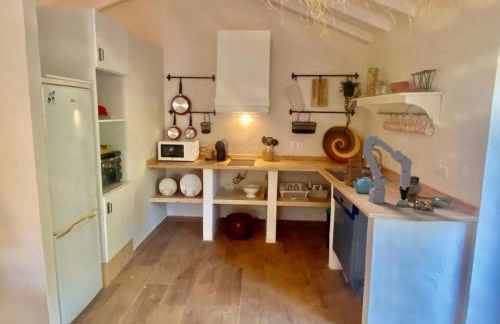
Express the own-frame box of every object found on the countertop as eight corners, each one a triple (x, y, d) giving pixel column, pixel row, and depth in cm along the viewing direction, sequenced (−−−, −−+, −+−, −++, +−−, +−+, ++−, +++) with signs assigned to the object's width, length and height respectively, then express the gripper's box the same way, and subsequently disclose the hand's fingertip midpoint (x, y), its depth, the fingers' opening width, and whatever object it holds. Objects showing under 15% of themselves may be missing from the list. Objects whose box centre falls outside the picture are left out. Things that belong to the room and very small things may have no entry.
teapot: (351, 192, 242) (351, 177, 240) (356, 188, 254) (357, 174, 253) (372, 195, 234) (373, 180, 232) (377, 191, 246) (378, 177, 244)
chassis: (432, 211, 195) (432, 204, 195) (413, 209, 200) (414, 202, 199) (431, 206, 207) (431, 199, 206) (413, 204, 211) (414, 197, 211)
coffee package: (343, 183, 270) (344, 157, 267) (357, 183, 271) (359, 157, 268) (347, 186, 260) (349, 159, 257) (362, 186, 261) (364, 159, 258)
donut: (419, 195, 235) (420, 181, 233) (422, 196, 231) (423, 182, 230) (405, 195, 235) (406, 181, 233) (407, 196, 232) (408, 182, 230)
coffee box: (403, 201, 219) (405, 177, 217) (399, 198, 225) (401, 175, 223) (417, 201, 219) (419, 177, 217) (412, 198, 226) (414, 175, 223)
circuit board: (408, 208, 202) (409, 202, 202) (396, 206, 205) (396, 200, 205) (409, 204, 211) (409, 198, 211) (397, 202, 214) (397, 196, 214)
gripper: (412, 180, 197) (410, 202, 199) (412, 176, 210) (410, 196, 212) (399, 178, 201) (397, 200, 203) (400, 175, 213) (398, 195, 215)
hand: (403, 198), depth 208 cm, fingers open, 7 cm apart
